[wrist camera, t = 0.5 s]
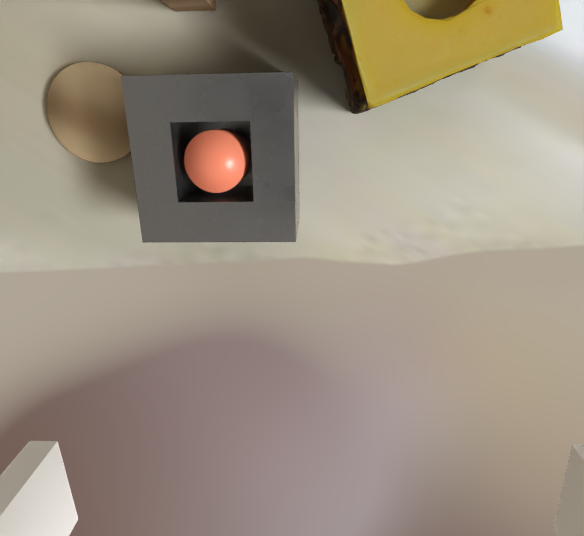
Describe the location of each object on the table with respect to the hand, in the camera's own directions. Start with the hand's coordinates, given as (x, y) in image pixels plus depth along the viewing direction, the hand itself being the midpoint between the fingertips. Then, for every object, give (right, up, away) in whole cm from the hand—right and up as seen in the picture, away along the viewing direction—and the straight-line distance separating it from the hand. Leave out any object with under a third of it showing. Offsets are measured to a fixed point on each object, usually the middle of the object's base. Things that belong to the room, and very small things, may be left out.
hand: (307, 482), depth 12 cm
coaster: (-15, +17, +22) cm, 31 cm away
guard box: (-5, +14, +22) cm, 27 cm away
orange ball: (-5, +13, +20) cm, 24 cm away
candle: (+7, +23, +19) cm, 30 cm away
